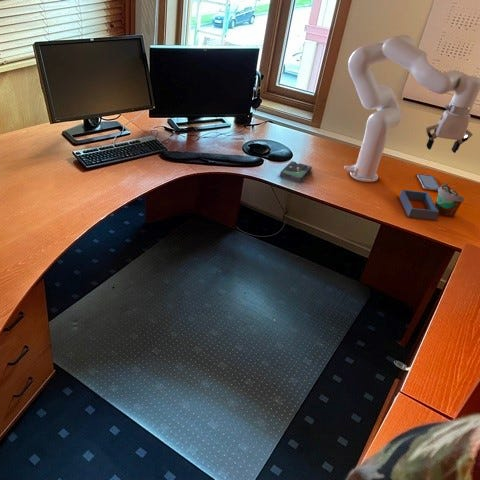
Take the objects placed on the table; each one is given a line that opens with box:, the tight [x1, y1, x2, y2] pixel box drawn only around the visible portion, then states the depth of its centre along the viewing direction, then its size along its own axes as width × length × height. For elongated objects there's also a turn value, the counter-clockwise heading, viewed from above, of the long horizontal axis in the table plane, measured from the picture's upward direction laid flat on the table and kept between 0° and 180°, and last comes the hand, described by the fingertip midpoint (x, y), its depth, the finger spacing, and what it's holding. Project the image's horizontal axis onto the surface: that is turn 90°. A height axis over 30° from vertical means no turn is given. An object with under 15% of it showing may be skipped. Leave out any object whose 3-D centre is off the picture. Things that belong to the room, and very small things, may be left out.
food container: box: [434, 183, 465, 218], centre depth 195 cm, size 12×6×10 cm, turn 5°
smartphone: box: [416, 173, 441, 192], centre depth 218 cm, size 7×1×15 cm
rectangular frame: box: [398, 189, 439, 221], centre depth 198 cm, size 11×17×4 cm, turn 169°
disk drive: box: [279, 160, 313, 183], centre depth 221 cm, size 10×3×15 cm
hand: (440, 149), depth 192 cm, fingers open, 9 cm apart
